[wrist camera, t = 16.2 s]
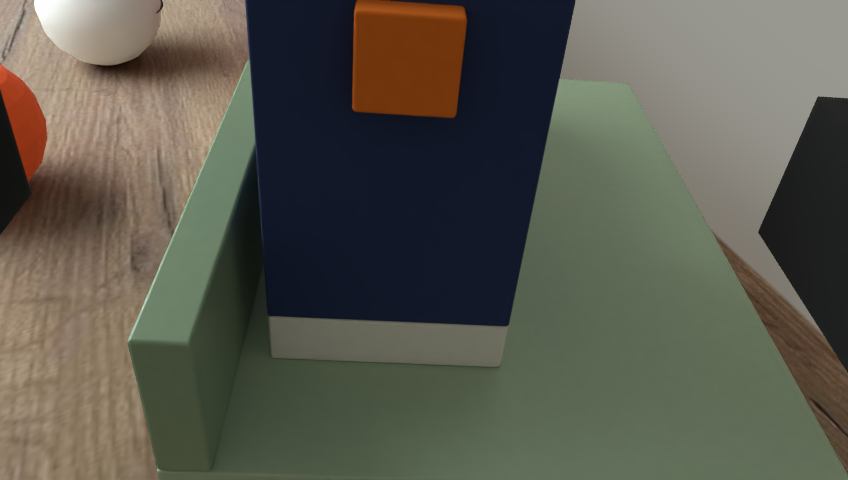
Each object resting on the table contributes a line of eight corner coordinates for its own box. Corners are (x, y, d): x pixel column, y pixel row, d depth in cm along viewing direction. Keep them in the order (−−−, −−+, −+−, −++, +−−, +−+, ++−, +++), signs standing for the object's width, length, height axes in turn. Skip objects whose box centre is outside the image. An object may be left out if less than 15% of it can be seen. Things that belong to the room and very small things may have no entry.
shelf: (596, 204, 39) (651, -2, 32) (753, 634, 21) (948, 375, 14) (292, 187, 38) (284, -29, 31) (192, 624, 20) (125, 341, 13)
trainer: (502, 386, 19) (586, -2, 13) (266, 377, 18) (234, -28, 12) (464, 106, 31) (497, -157, 25) (323, 97, 31) (321, -172, 25)
